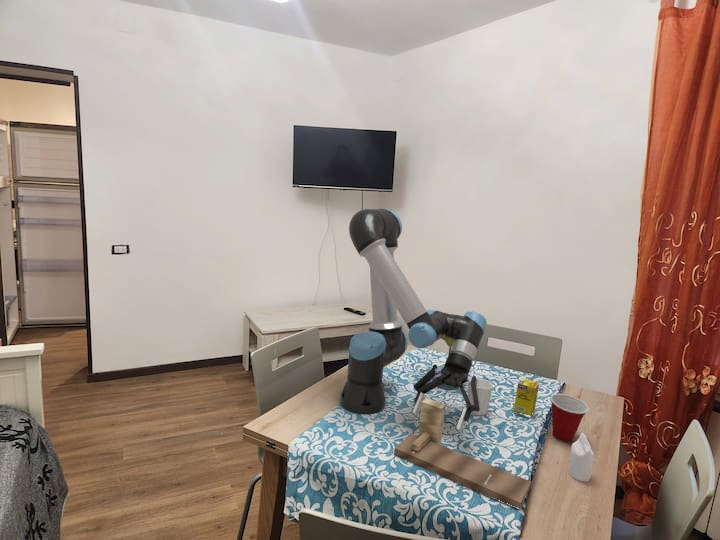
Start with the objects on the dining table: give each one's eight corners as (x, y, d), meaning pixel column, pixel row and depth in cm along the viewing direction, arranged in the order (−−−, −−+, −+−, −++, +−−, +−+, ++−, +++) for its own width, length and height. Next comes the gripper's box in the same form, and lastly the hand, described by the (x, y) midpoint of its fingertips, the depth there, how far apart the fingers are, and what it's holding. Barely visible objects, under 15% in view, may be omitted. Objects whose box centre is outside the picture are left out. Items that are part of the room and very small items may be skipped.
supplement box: (531, 419, 151) (536, 388, 149) (512, 413, 154) (517, 383, 152) (534, 412, 156) (539, 382, 154) (517, 406, 159) (521, 377, 157)
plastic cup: (566, 450, 134) (573, 412, 132) (537, 431, 143) (542, 396, 141) (590, 443, 139) (597, 406, 137) (560, 425, 148) (566, 391, 146)
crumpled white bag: (601, 441, 117) (579, 439, 117) (593, 483, 119) (571, 480, 120) (592, 429, 123) (570, 426, 123) (584, 469, 125) (563, 466, 126)
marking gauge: (404, 451, 126) (408, 411, 123) (422, 435, 135) (426, 398, 132) (424, 460, 122) (428, 419, 120) (440, 443, 131) (445, 404, 129)
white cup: (489, 418, 149) (493, 390, 147) (465, 414, 151) (469, 386, 149) (488, 407, 157) (492, 380, 155) (464, 403, 158) (468, 376, 156)
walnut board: (393, 454, 125) (394, 447, 125) (410, 439, 133) (411, 432, 133) (519, 510, 107) (520, 502, 106) (530, 488, 115) (531, 481, 114)
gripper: (502, 374, 136) (480, 442, 126) (426, 353, 149) (401, 413, 139) (499, 363, 130) (476, 433, 121) (421, 342, 144) (394, 403, 134)
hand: (436, 422), depth 130 cm, fingers open, 13 cm apart
